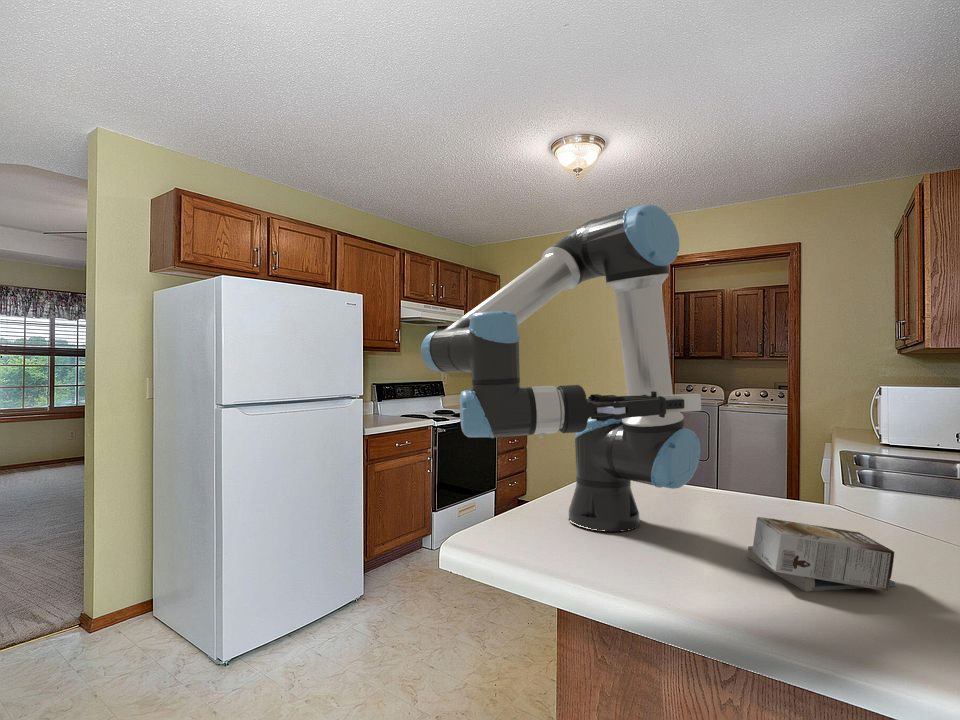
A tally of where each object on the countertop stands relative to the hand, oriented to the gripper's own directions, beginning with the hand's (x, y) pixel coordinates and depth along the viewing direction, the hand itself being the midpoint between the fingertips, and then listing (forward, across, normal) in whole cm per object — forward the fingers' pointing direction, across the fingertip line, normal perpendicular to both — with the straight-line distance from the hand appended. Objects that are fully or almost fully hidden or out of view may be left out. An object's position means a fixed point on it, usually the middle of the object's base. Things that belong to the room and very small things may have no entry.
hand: (698, 402), depth 86 cm
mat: (+20, +1, -29) cm, 35 cm away
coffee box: (+8, +4, -23) cm, 24 cm away
